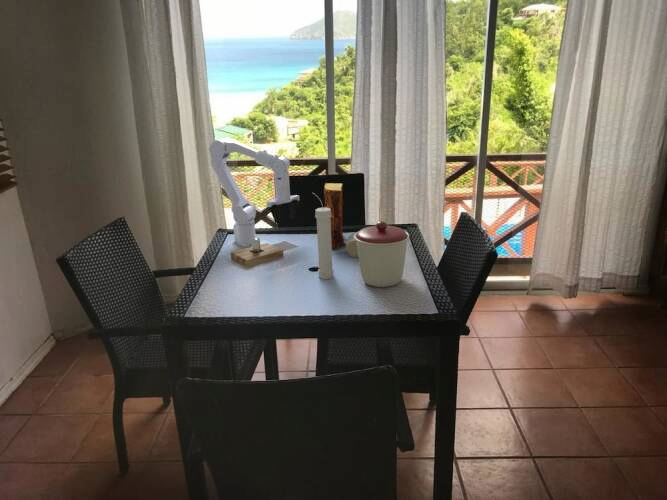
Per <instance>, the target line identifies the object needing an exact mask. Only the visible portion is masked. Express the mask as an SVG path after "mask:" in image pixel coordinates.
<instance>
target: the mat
mask: <svg viewBox="0 0 667 500" xmlns="http://www.w3.org/2000/svg"><path fill="white" fill-rule="evenodd" d="M271 245H272V246H275V247H277V248H280V249H282V250H283V252H285V251H288V250H289V251H290V250H292V249H295V248H299V247H300V246H298V245H296V244H294V243H291V242H288V241H286V240H284V241H280V242H277V243H273V244H271Z"/></svg>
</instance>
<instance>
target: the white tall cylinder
mask: <svg viewBox="0 0 667 500" xmlns="http://www.w3.org/2000/svg"><path fill="white" fill-rule="evenodd" d="M312 194H313V195H315V196H316V197H317V199H318V200H319V201H320V203H321V206H322V207H318V208H316V209H314V210H315V215H314V219H315V218H316V230H317V231H316V235H317V251H318V253H317V254H318V269H317V273H318V278H319V279H321V280H330V279H333V277H334V276H335V275H334V273H335V270H334V267H333V253H332V252H333V249H332V244H331V220H330V218H331V217H332V215H331V209H330V208H325V207H324V206H323V203H322V200H321V198H319V196H318V195H317V194H315V193H314V192H312Z"/></svg>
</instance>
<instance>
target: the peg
mask: <svg viewBox="0 0 667 500" xmlns="http://www.w3.org/2000/svg"><path fill="white" fill-rule="evenodd" d="M260 244H261V239H260V237H256V238H252V245H251V247H253V253H254V254H256V253H260V252H261V248H260Z"/></svg>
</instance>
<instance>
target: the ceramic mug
mask: <svg viewBox="0 0 667 500" xmlns="http://www.w3.org/2000/svg"><path fill="white" fill-rule="evenodd" d="M355 233H356V232H354V233H352V234H349V236H348V237H347V240H346V244H345V247H346V248H345V250H346V252H347V255H349V256H350V257H351V258H359V257H358V250H357V242H356V240H355V238H354V235H355Z"/></svg>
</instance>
